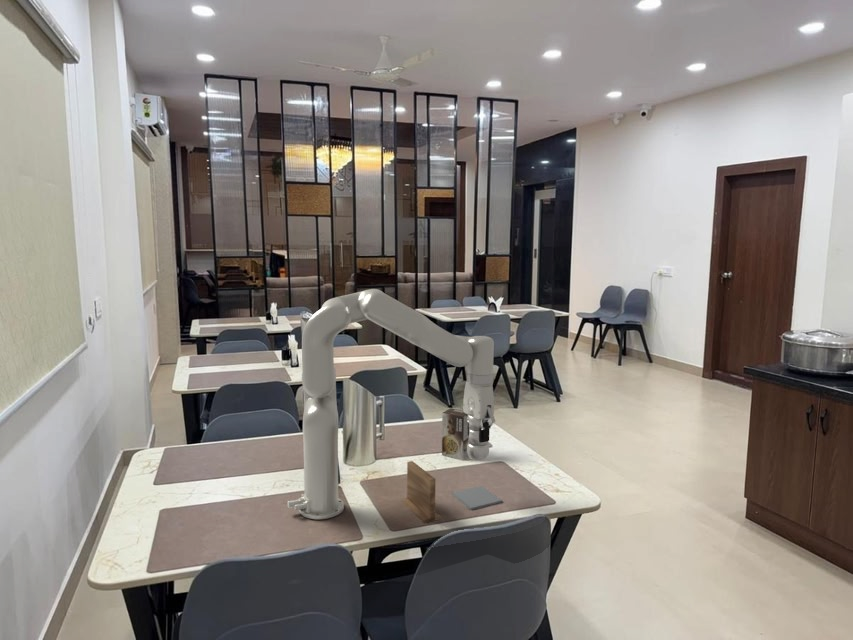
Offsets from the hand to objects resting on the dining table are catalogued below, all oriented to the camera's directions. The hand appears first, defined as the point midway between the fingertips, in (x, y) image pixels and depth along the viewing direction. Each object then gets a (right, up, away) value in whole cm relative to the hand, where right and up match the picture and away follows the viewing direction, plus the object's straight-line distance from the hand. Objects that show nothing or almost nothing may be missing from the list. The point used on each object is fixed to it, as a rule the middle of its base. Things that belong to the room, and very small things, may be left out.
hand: (478, 437), depth 166 cm
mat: (0, -19, +3) cm, 19 cm away
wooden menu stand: (-17, -20, -5) cm, 26 cm away
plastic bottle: (0, -7, +1) cm, 7 cm away
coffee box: (-5, -14, +36) cm, 39 cm away
